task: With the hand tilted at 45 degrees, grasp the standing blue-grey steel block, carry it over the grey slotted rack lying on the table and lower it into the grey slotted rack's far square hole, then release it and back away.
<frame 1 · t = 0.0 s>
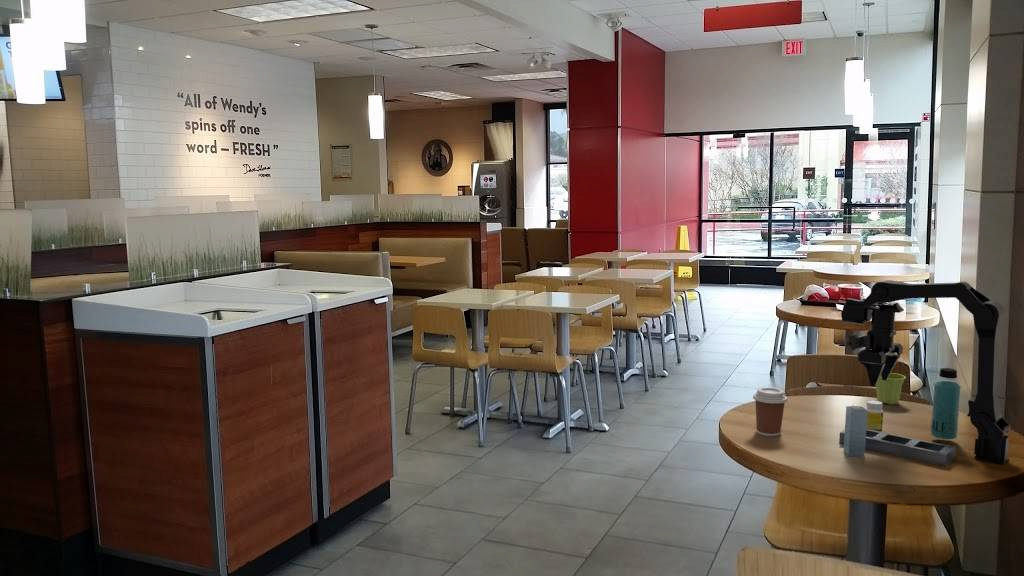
hand: (878, 383, 224), 15 cm above the table, tool pointing down, fingers open, 9 cm apart
nut block: (853, 453, 210), on the table
coffee cup: (768, 433, 227), on the table
beverage bottle: (943, 441, 220), on the table
supplement bottle: (872, 432, 229), on the table
grey slotted rack: (895, 450, 213), on the table
plant pot: (887, 402, 259), on the table
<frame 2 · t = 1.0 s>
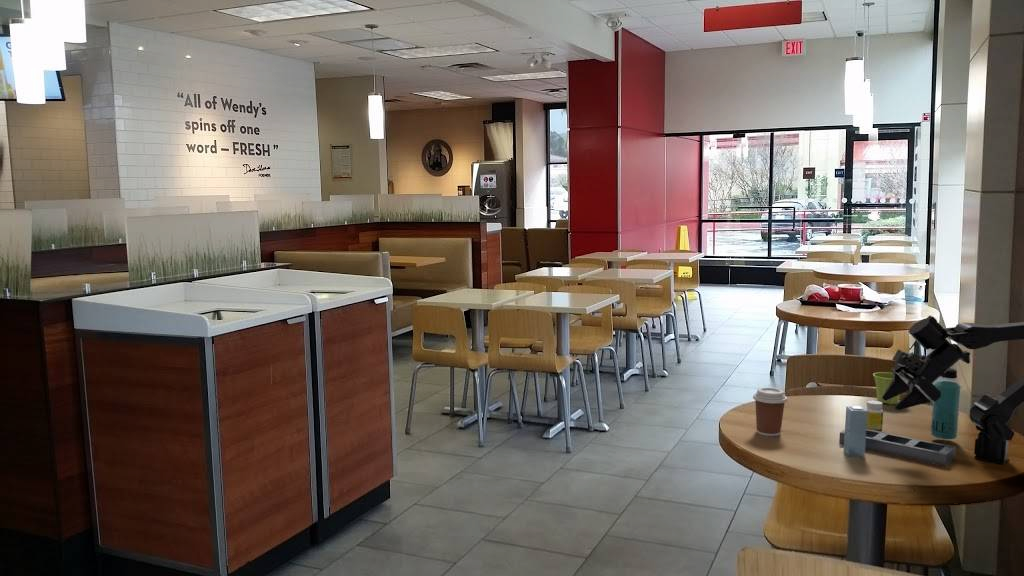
hand: (889, 404, 208), 13 cm above the table, tool tilted 45°, fingers open, 9 cm apart
nothing on the table moved.
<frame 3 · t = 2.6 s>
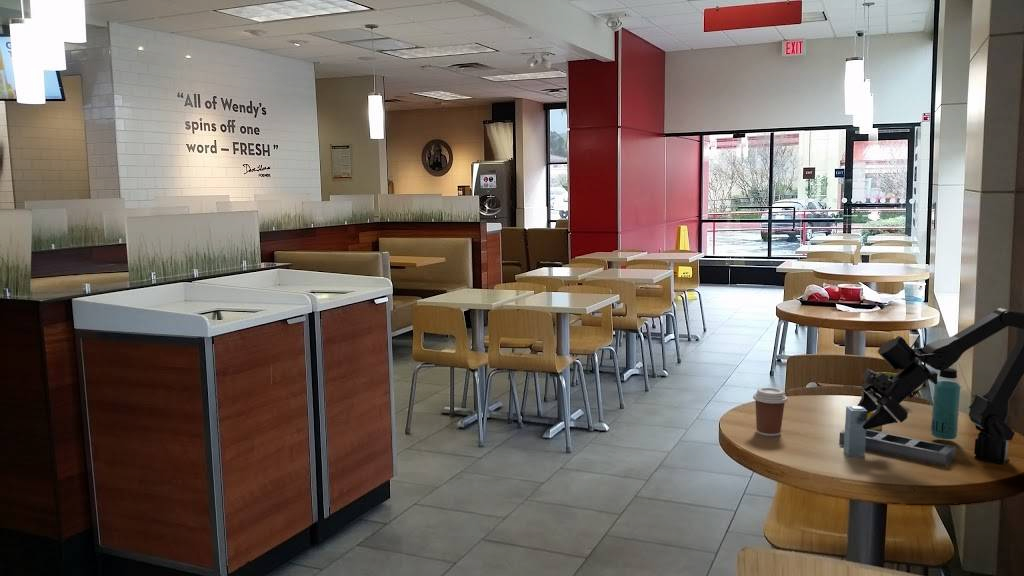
hand: (857, 422, 209), 8 cm above the table, tool tilted 45°, fingers open, 9 cm apart
nothing on the table moved.
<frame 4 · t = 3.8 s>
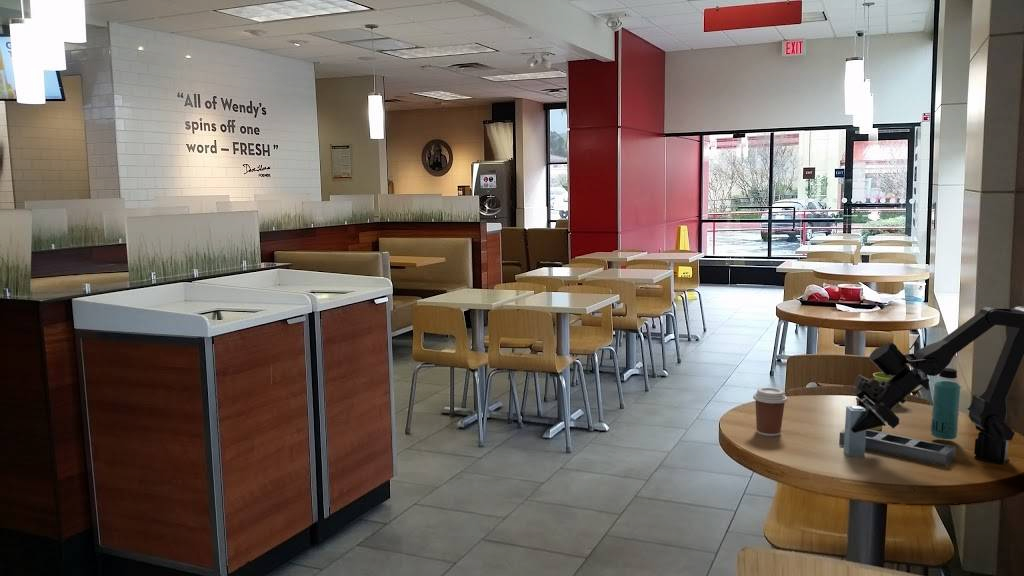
hand: (849, 428, 209), 7 cm above the table, tool tilted 45°, fingers closed on nut block, 4 cm apart
nut block: (853, 453, 210), on the table, touching gripper
everything else where it was.
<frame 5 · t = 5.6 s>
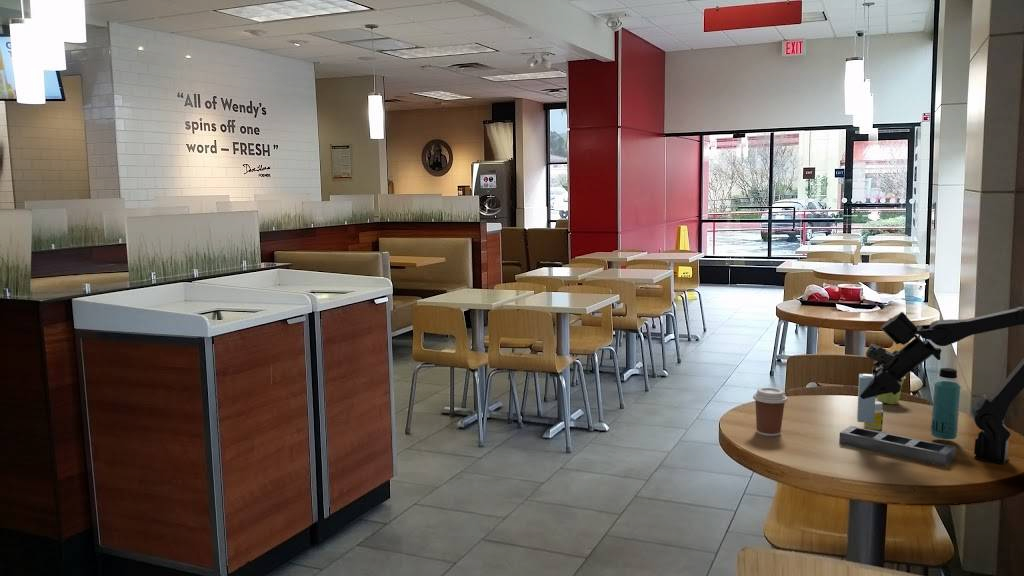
hand: (861, 395, 216), 13 cm above the table, tool tilted 45°, fingers closed on nut block, 4 cm apart
nut block: (865, 420, 217), point 7 cm above the table, touching gripper
everything else where it was.
when the fingers open (7 cm above the table, at t = 7.3 s): nut block stays where it is, resting in grey slotted rack.
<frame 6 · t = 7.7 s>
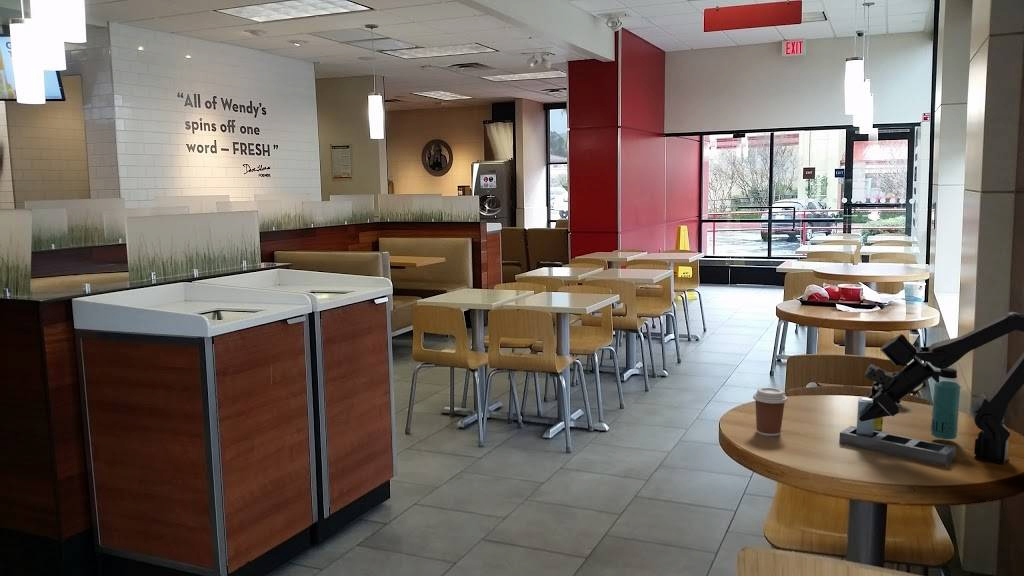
hand: (859, 415, 217), 8 cm above the table, tool tilted 45°, fingers open, 8 cm apart
nut block: (863, 443, 218), resting in grey slotted rack
everything else where it was.
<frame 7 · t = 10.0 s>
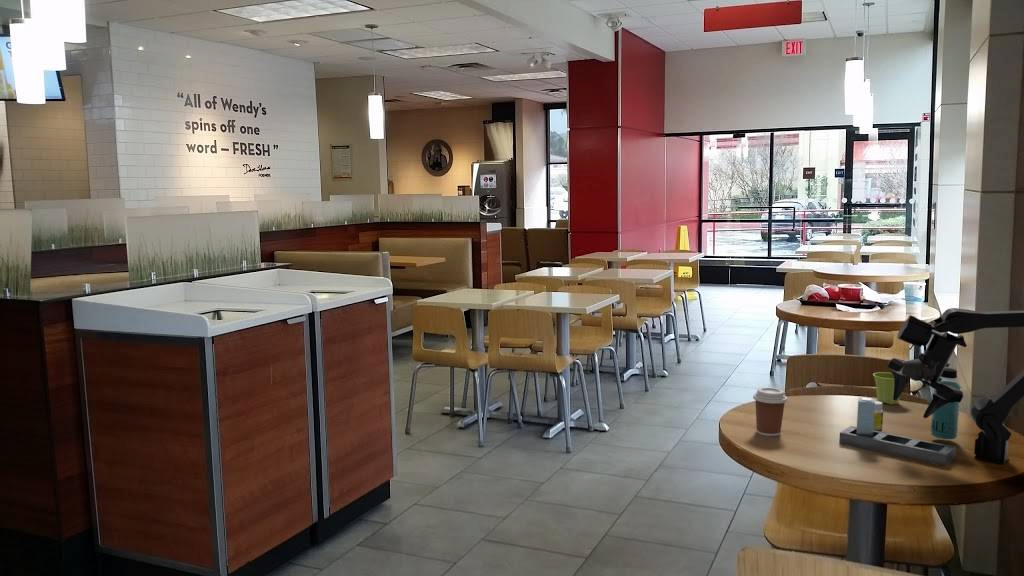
hand: (909, 408, 211), 11 cm above the table, tool tilted 20°, fingers open, 9 cm apart
nothing on the table moved.
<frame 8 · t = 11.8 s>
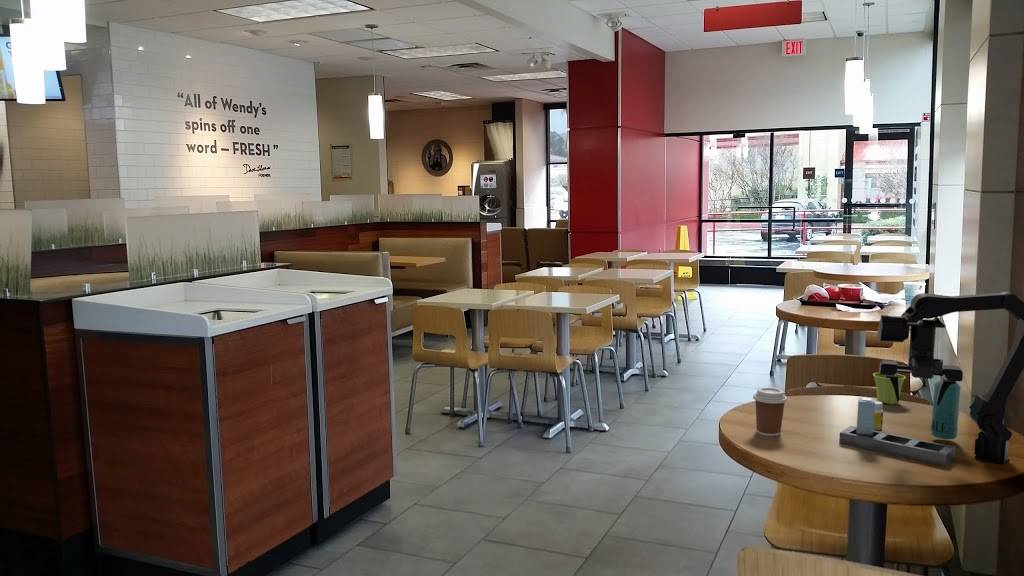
hand: (917, 403, 210), 13 cm above the table, tool pointing down, fingers open, 9 cm apart
nothing on the table moved.
at the end: nut block 0.0 cm from the target spot on the grey slotted rack, point 0.0 cm above the grey slotted rack's base; nut block tilted 0°; the gripper is holding nothing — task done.
